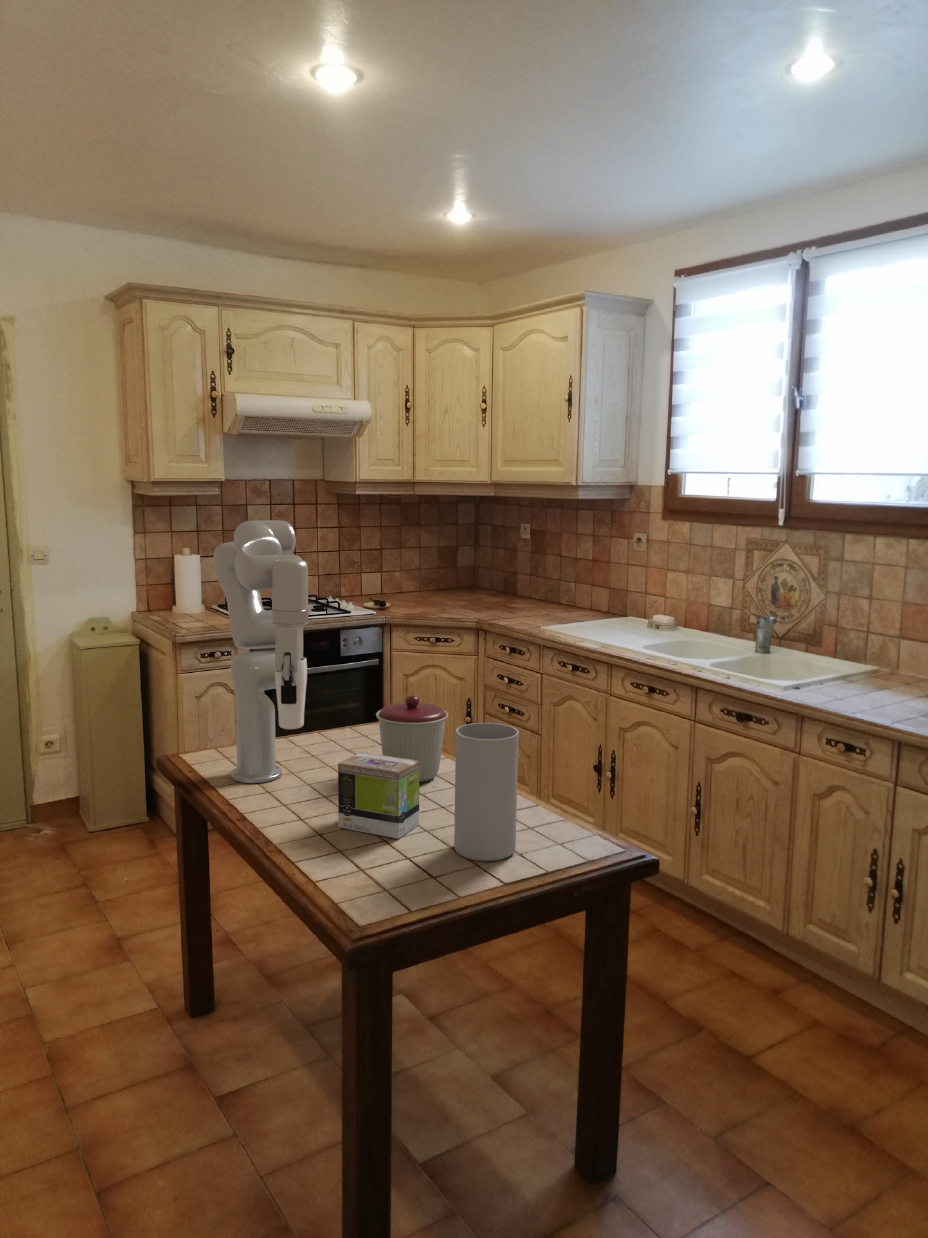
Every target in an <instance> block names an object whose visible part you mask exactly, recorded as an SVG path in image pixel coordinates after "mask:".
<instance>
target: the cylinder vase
mask: <svg viewBox="0 0 928 1238" xmlns="http://www.w3.org/2000/svg"><path fill="white" fill-rule="evenodd" d="M519 734H520V731H519V730H518V729H517V728H516V727H513V726H512V725H511V726H510V725H507V724H502V723H496V722H495V723H494V722H476V723H475V722H474V723H468V724H464V725H461V726H459V727H457V728H456V729H455V768H454V769H455V770H454V771H455V774H454V779H455V780H454V830H453V831H454V832H453V833H454V834H453V835H454V837H453V847H454V851H455V852H456V853H457V854H458V855H459V856H462V857H463V858H465V859H468V860H472V861H478V862H496V861H501V860H504V859H507V858H508V857H511V856H512V855H513V854H514V853H515V851H516V844H517V843H516V842H517V809H518V807H517V805H518V803H517V802H518V775H519V774H518V769H519V768H518V767H519V737H520V736H519Z"/></svg>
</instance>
